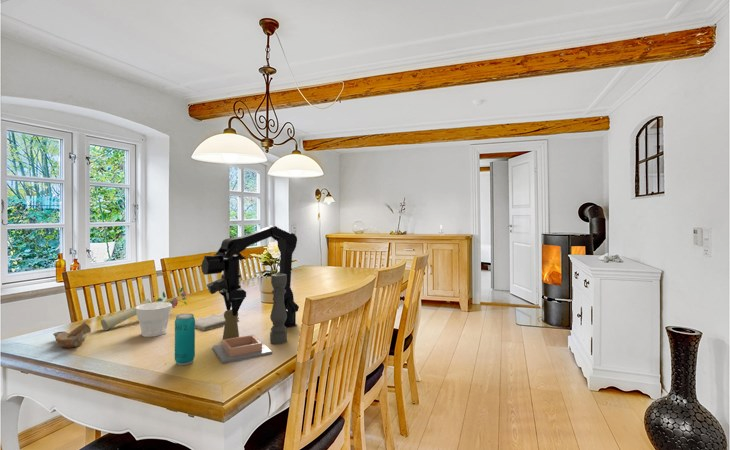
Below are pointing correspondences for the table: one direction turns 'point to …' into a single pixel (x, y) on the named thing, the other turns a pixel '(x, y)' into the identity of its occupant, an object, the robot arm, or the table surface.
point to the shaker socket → (240, 348)
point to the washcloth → (210, 322)
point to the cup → (153, 318)
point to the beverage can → (184, 339)
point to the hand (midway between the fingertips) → (231, 312)
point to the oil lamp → (73, 336)
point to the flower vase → (134, 312)
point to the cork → (230, 325)
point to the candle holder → (278, 309)
